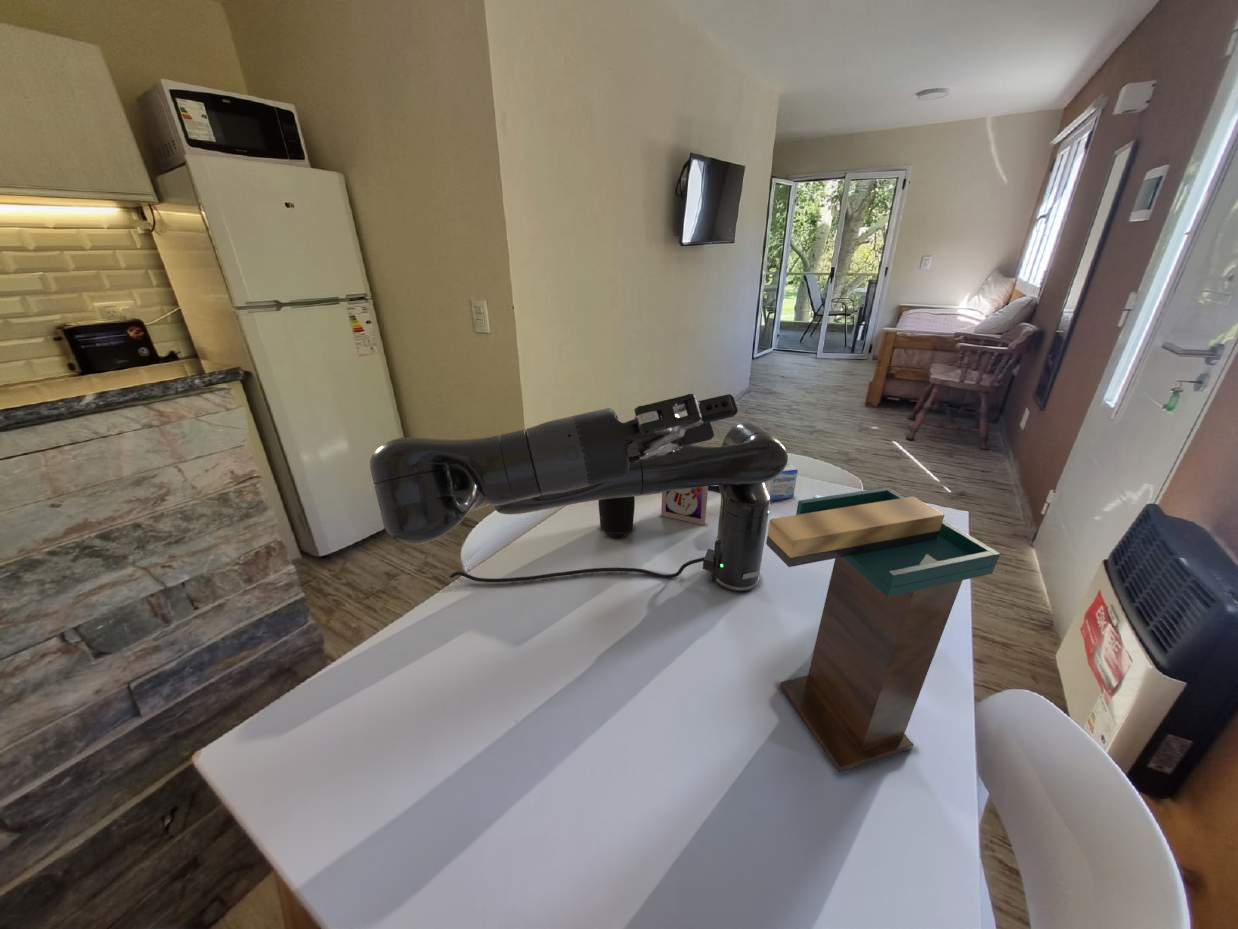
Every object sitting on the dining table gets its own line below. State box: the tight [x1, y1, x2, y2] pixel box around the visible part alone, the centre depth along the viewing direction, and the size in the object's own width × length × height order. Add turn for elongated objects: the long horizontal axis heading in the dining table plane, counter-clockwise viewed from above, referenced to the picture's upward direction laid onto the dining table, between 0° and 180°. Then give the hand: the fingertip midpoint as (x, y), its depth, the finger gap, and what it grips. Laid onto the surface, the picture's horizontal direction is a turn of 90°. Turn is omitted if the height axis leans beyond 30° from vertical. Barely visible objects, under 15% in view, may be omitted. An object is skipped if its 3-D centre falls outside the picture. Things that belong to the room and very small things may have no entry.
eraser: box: [765, 496, 946, 568], centre depth 55 cm, size 20×5×3 cm, turn 106°
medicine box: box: [765, 463, 799, 502], centre depth 131 cm, size 8×4×9 cm, turn 105°
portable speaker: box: [598, 496, 636, 539], centre depth 113 cm, size 9×9×20 cm
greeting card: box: [660, 486, 709, 526], centre depth 120 cm, size 11×7×15 cm, turn 67°
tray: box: [795, 486, 1001, 597], centre depth 57 cm, size 14×16×3 cm
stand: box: [779, 557, 964, 773], centre depth 65 cm, size 12×14×31 cm
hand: (722, 418), depth 52 cm, fingers open, 8 cm apart
